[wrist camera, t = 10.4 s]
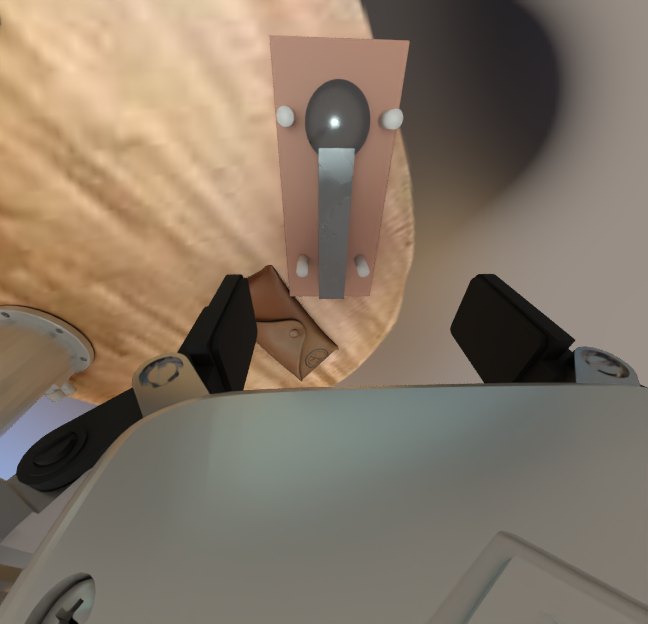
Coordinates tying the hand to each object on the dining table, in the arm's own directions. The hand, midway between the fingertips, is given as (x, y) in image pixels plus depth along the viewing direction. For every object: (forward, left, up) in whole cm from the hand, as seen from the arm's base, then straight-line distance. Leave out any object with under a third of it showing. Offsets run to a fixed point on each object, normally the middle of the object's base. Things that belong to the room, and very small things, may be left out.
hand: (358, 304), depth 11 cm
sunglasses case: (-16, +6, -19) cm, 26 cm away
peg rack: (0, 0, -18) cm, 18 cm away
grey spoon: (0, 0, -17) cm, 17 cm away
